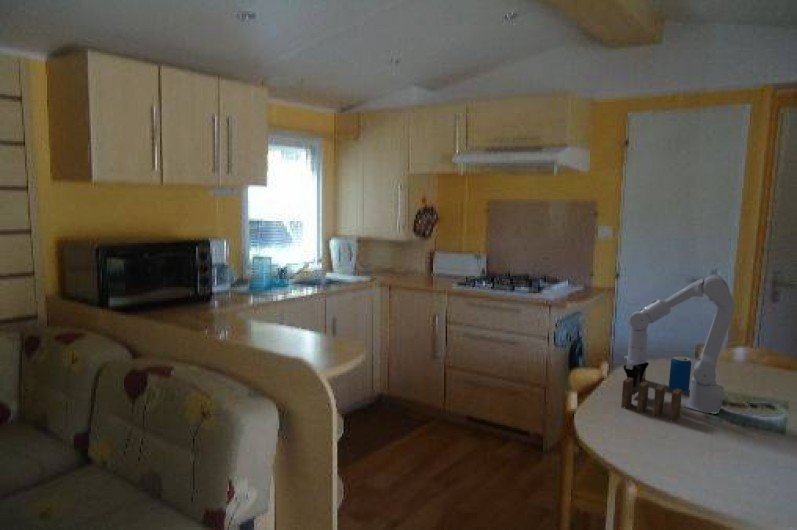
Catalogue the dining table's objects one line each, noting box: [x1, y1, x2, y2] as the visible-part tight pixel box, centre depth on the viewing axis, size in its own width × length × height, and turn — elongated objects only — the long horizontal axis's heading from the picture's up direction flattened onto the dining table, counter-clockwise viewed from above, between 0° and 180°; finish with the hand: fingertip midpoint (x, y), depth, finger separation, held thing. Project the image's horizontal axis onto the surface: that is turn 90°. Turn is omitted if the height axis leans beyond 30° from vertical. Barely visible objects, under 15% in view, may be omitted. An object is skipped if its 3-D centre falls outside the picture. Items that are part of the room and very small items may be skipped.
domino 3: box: [636, 380, 650, 413], centre depth 183 cm, size 2×5×9 cm, turn 139°
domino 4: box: [652, 384, 666, 418], centre depth 180 cm, size 2×5×9 cm, turn 139°
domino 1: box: [620, 377, 633, 409], centre depth 186 cm, size 2×5×9 cm, turn 139°
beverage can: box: [668, 355, 692, 394], centre depth 200 cm, size 6×6×12 cm
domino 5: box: [669, 388, 683, 422], centre depth 177 cm, size 2×5×9 cm, turn 139°
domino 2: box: [632, 365, 641, 396], centre depth 194 cm, size 2×5×9 cm, turn 139°
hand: (634, 384), depth 194 cm, fingers closed on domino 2, 5 cm apart
